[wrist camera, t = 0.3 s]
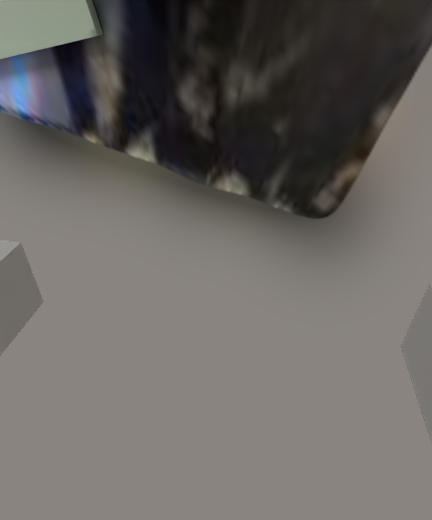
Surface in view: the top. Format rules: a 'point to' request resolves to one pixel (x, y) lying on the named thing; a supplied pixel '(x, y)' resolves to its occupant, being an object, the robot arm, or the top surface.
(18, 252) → the robot arm
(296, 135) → the top surface
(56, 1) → the tray
